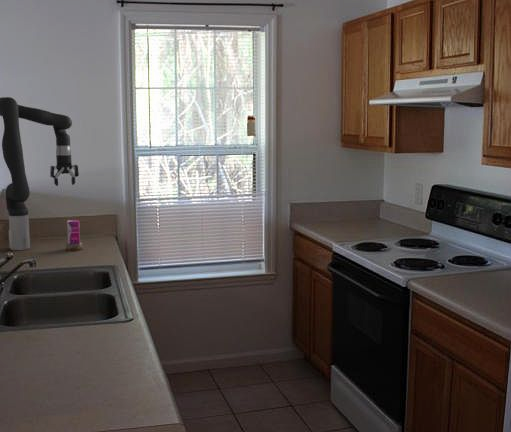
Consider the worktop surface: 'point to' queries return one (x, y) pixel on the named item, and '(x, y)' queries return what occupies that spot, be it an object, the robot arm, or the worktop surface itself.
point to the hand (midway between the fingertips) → (65, 185)
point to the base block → (74, 247)
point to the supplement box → (73, 232)
